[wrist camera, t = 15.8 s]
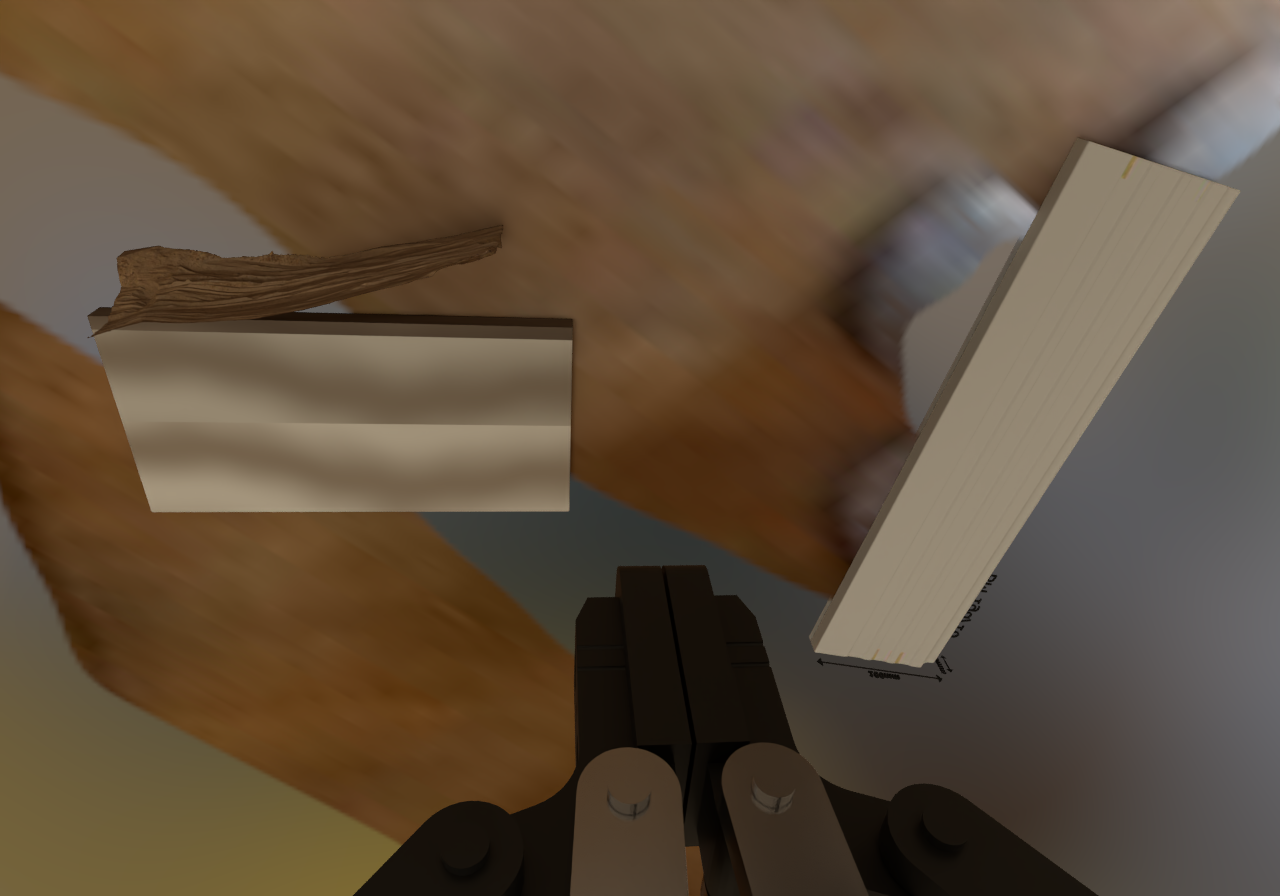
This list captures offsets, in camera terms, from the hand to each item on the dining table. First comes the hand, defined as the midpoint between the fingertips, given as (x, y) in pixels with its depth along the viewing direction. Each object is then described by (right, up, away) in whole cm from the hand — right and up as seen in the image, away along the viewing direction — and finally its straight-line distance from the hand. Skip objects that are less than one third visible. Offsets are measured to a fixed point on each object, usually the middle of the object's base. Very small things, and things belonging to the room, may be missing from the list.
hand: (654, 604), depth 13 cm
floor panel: (-14, +4, +23) cm, 27 cm away
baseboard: (+19, +3, +28) cm, 34 cm away
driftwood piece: (-14, +11, +19) cm, 26 cm away
